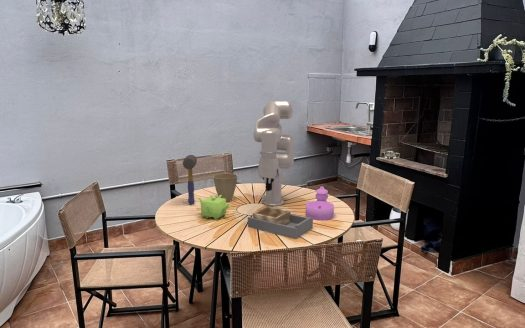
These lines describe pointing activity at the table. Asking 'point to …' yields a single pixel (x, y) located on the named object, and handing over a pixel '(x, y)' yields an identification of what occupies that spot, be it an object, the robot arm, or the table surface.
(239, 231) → the table surface
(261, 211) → the crate
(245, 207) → the table surface
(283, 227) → the tray
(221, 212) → the green lumpy block
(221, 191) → the plant pot
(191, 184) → the rubber mallet
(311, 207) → the container set
